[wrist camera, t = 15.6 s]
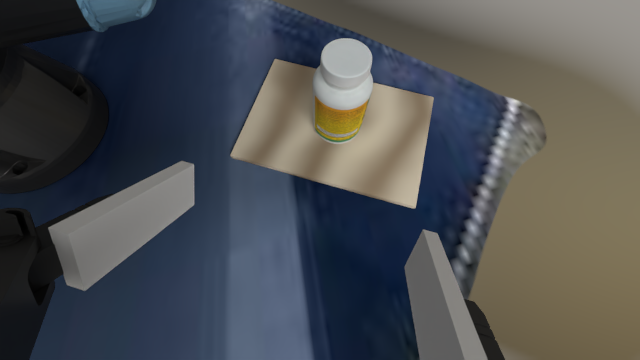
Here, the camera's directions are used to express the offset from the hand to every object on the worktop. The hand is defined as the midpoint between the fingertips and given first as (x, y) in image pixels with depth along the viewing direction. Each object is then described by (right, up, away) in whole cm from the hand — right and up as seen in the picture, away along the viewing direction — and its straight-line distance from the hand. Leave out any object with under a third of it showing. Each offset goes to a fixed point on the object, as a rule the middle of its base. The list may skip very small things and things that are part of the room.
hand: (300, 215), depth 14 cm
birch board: (+3, +8, +15) cm, 17 cm away
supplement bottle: (+3, +8, +14) cm, 17 cm away
